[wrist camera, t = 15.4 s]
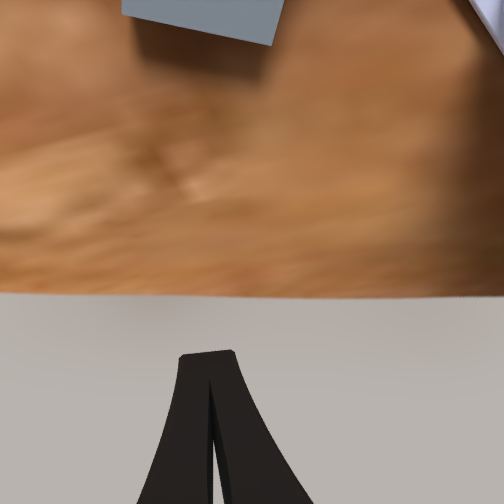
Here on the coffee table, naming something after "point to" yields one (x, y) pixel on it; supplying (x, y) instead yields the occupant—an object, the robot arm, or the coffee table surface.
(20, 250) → the coffee table surface
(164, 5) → the domino
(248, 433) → the robot arm
